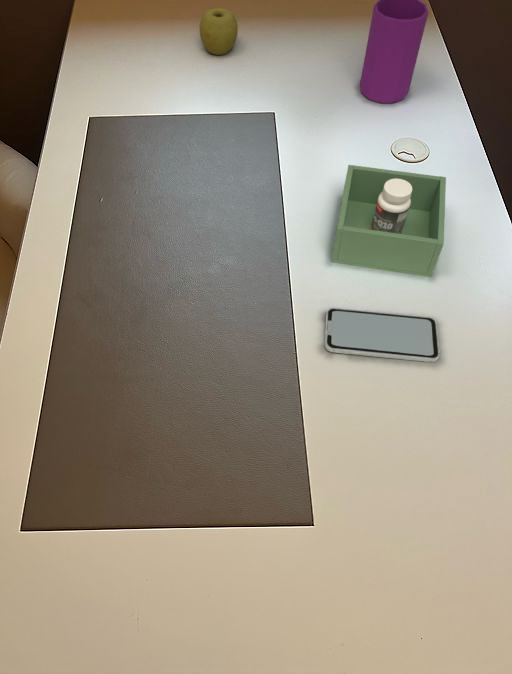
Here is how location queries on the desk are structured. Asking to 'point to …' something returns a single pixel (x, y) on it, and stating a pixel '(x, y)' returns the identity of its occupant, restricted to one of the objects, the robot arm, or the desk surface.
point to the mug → (392, 49)
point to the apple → (218, 30)
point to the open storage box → (384, 247)
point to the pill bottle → (392, 206)
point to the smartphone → (382, 334)
